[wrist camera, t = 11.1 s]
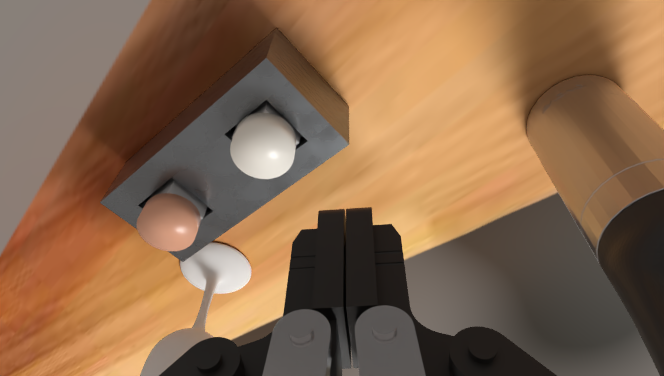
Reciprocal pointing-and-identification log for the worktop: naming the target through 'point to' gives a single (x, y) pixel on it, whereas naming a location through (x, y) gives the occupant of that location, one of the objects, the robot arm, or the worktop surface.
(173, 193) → the plunger
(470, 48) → the worktop surface
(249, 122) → the white ball knob
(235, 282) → the wineglass
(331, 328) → the robot arm
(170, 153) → the plunger panel
